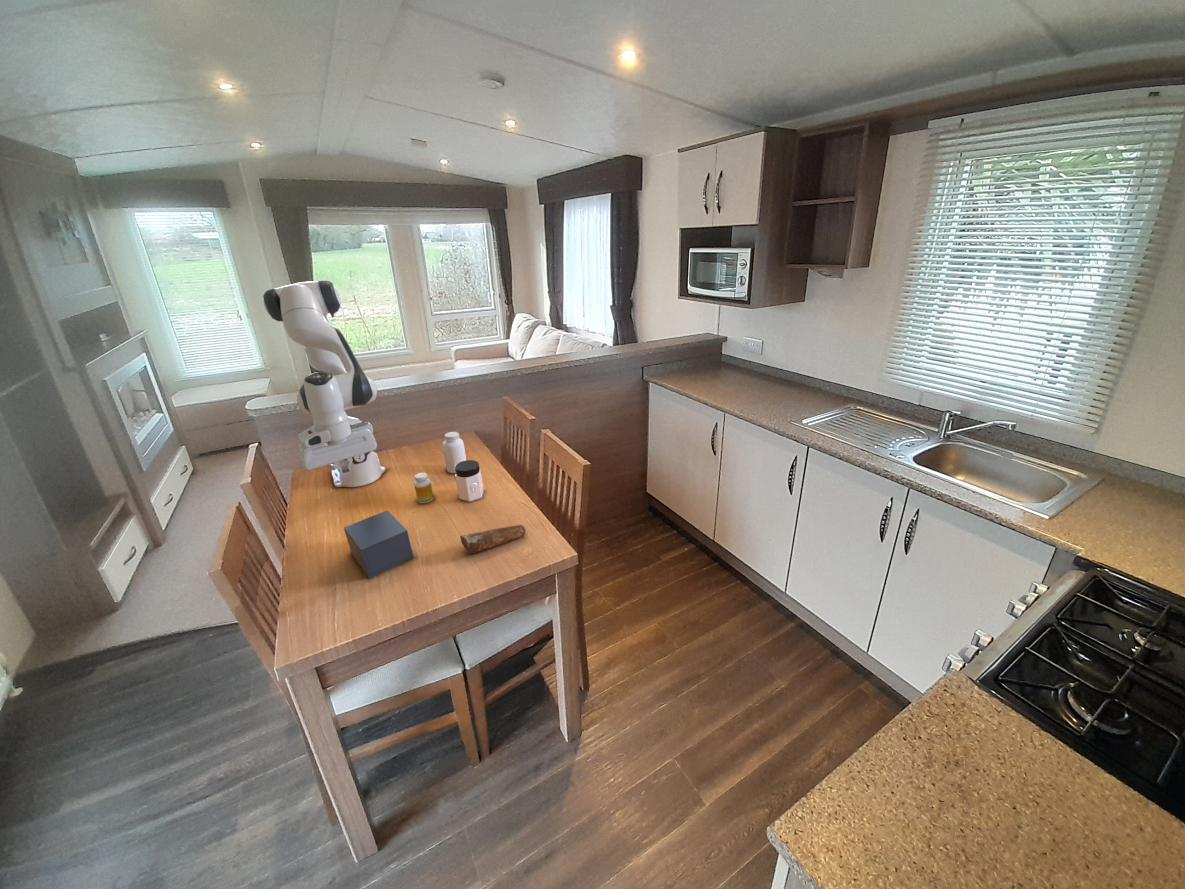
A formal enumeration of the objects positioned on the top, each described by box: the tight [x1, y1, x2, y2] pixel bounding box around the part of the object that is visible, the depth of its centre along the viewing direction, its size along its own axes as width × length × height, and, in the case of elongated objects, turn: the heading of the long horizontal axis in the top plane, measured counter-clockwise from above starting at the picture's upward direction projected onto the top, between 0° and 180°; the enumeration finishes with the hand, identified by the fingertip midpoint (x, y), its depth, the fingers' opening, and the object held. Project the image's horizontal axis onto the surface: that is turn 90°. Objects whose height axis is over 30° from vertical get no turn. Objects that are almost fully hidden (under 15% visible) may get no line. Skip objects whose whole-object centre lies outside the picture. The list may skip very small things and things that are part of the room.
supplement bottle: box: [413, 472, 434, 504], centre depth 165 cm, size 5×5×10 cm
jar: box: [454, 459, 484, 503], centre depth 166 cm, size 9×8×12 cm
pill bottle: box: [441, 431, 467, 474], centre depth 184 cm, size 8×8×15 cm
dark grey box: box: [343, 509, 414, 579], centre depth 137 cm, size 15×13×10 cm
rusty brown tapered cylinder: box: [459, 524, 527, 555], centre depth 141 cm, size 6×19×6 cm, turn 115°
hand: (345, 472), depth 141 cm, fingers closed
